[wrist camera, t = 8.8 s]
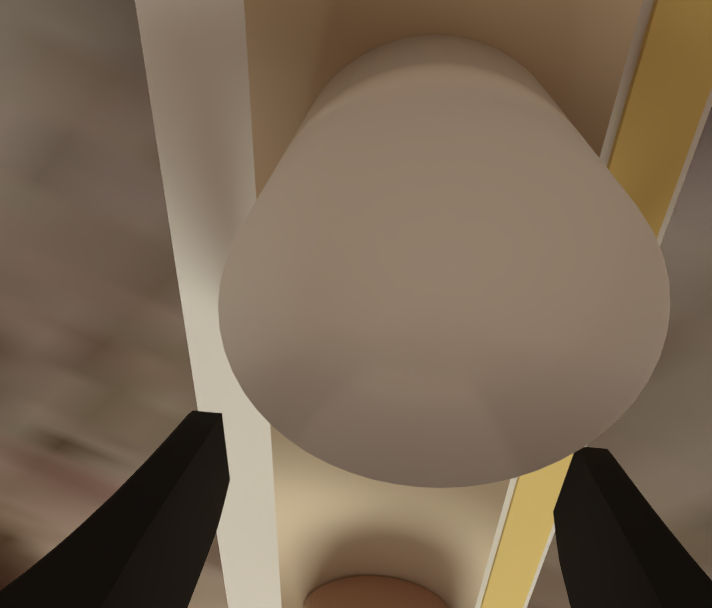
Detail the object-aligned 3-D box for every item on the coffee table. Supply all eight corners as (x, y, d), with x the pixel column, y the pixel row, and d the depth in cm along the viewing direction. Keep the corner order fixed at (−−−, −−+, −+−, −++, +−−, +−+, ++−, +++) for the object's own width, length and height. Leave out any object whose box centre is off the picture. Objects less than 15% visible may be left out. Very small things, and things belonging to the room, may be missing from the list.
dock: (506, 576, 24) (515, 643, 22) (244, 549, 24) (227, 611, 22) (792, -327, 10) (906, -405, 7) (142, -341, 10) (64, -417, 8)
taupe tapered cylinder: (538, 301, 10) (603, 501, 6) (300, 287, 10) (240, 473, 6) (597, 38, 7) (746, 132, 4) (288, 30, 8) (188, 110, 4)
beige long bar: (438, 616, 21) (442, 725, 18) (305, 602, 22) (287, 707, 19) (635, -291, 8) (756, -412, 5) (286, -298, 8) (218, -419, 6)
